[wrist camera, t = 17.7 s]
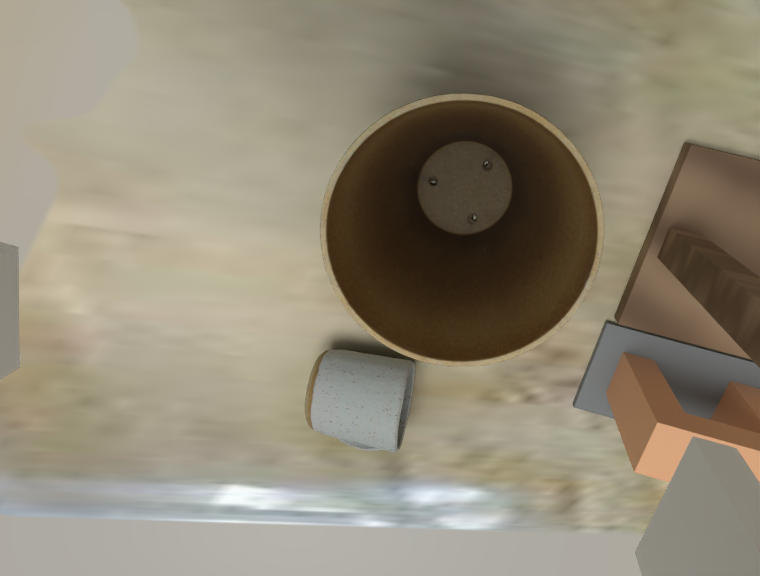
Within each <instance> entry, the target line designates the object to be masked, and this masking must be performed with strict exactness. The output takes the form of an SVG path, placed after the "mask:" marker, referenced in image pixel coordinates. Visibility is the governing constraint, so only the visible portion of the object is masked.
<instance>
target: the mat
mask: <svg viewBox="0 0 760 576" xmlns="http://www.w3.org/2000/svg"><path fill="white" fill-rule="evenodd" d="M623 352H626V353H630V354H634V355H637V356H641V357H645V358H648V359H652V360H655V362H656V364H657V366H658V367H659V369H660V371H661V373H662V374H663V376H664V378H665V379H666V381H667V383H668V385H669V386H670V388H671V390H672V391H673V393H674V395H675V397H676V398H677V400H678V402H679V404H680V405H681V407H682V409H683V410H684V412H685V413H687V414H691V415H695V416H698V417H702V418H705V419H709V420H711V418H712V416H713V414H714V412H715V410H716V408H717V406H718V404H719V402H720V400H721V398H722V396H723V394H724V392H725V390H726V388H727V386H728V384H729V382H730V381H733V382H737V383H740V384H744V385H748V386H751V387H755V388H759V389H760V368H759V367H758V366H757V365H756V364H755V363H754V362H753V360H751V359H747V358H744V357H740V356H736V355H732V354H729V353H725V352H721V351H717V350H714V349H710V348H706V347H703V346H699V345H695V344H691V343H688V342H684V341H680V340H676V339H673V338H669V337H665V336H661V335H658V334H654V333H650V332H646V331H643V330H639V329H635V328H632V327H628V326H624V325H620V324H617V323H613V322H610V321H606V322H605V324H604V327H603V329H602V332H601V334H600V337H599V339H598V342H597V344H596V347H595V349H594V352H593V354H592V357H591V359H590V362H589V364H588V367H587V369H586V372H585V375H584V377H583V380H582V382H581V385H580V387H579V390H578V392H577V395H576V397H575V400H574V402H573V406H574V407H575V408H578V409H582V410H586V411H589V412H593V413H596V414H600V415H603V416H607V417H610V418H614V415H613V412H612V410H611V407H610V404H609V401H608V399H607V396H606V391H607V389H608V387H609V384H610V382H611V380H612V377H613V375H614V372H615V370H616V368H617V365H618V363H619V360H620V358H621V356H622V353H623ZM614 419H615V418H614Z"/></svg>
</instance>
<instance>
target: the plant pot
mask: <svg viewBox="0 0 760 576" xmlns="http://www.w3.org/2000/svg"><path fill="white" fill-rule="evenodd" d="M487 161H488V162H489V164H488V165H487V166H483V165H484V163H485V162H487ZM430 181H435V182H436V185H433V184H431V183H430ZM473 215H475V216H476V218H477V219H476V221H474V220H473V219H472V217H473ZM320 239H321V249H322V255H323V260H324V264H325V268H326V271H327V274H328V277H329V280H330V282H331V284H332V287H333V289H334V291H335V292H336V294H337V296H338V298H339V299H340V301H341V302H342V304H343V305H344V307H345V309H346V310H347V311H348V312H349V314H350V315H351V316H352V317H353V319H354V320H355V321H356V322H357V323H358V324H359V325H360V326H361V327H362V328H363V329H364V330H365V331H367V332H368V333H369V334H370V335H371V336H373V337H374V338H375V339H377V340H378V341H380V342H381V343H382V344H384V345H385V346H387V347H389V348H390V349H392V350H394V351H396V352H398V353H400V354H402V355H405V356H407V357H410V358H413V359H416V360H419V361H423V362H427V363H431V364H437V365H443V366H452V367H469V366H481V365H487V364H493V363H497V362H501V361H504V360H507V359H510V358H513V357H516V356H518V355H520V354H523V353H525V352H527V351H529V350H531V349H532V348H534V347H536V346H538V345H539V344H541V343H543V342H544V341H546V340H547V339H548V338H550V337H551V336H553V335H554V334H555V333H556V332H557V331H558V330H559V329H561V328H562V327H563V326H564V325H565V324H566V323H567V322H568V321H569V319H570V318H571V317H572V316H573V315H574V313H575V312H576V311H577V309H578V308H579V306H580V305H581V304H582V302H583V301H584V299H585V297H586V296H587V294H588V292H589V290H590V288H591V286H592V284H593V281H594V279H595V276H596V274H597V271H598V267H599V263H600V259H601V256H602V250H603V241H604V218H603V209H602V204H601V198H600V194H599V191H598V188H597V185H596V182H595V179H594V177H593V175H592V173H591V171H590V169H589V167H588V165H587V163H586V162H585V160H584V158H583V157H582V155H581V154H580V152H579V151H578V150H577V148H576V147H575V146H574V144H573V143H572V142H571V141H570V140H569V139H568V138H567V137H566V136H565V135H564V134H563V133H562V132H561V131H560V130H559V129H558V128H557V127H555V126H554V125H553V124H552V123H551V122H549V121H548V120H546V119H545V118H543V117H542V116H540V115H539V114H537V113H536V112H534V111H532V110H530V109H528V108H526V107H524V106H522V105H519V104H517V103H514V102H512V101H508V100H505V99H502V98H498V97H494V96H489V95H481V94H468V93H458V94H446V95H438V96H433V97H428V98H424V99H421V100H417V101H414V102H412V103H409V104H407V105H404V106H402V107H400V108H398V109H396V110H394V111H392V112H390V113H388V114H387V115H385V116H384V117H382V118H381V119H379V120H378V121H377V122H375V123H374V124H372V125H371V126H370V127H369V128H368V129H367V130H365V131H364V132H363V133H362V134H361V135H360V136H359V137H358V138H357V139H356V140H355V141H354V143H353V144H352V145H351V146H350V147H349V149H348V150H347V151H346V153H345V154H344V156H343V157H342V159H341V160H340V162H339V163H338V165H337V167H336V169H335V171H334V173H333V175H332V177H331V179H330V182H329V184H328V187H327V190H326V193H325V197H324V201H323V206H322V212H321V222H320Z"/></svg>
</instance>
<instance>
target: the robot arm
mask: <svg viewBox="0 0 760 576" xmlns="http://www.w3.org/2000/svg"><path fill="white" fill-rule="evenodd" d="M18 368H20V349H19V262H18V247H16V246H13V245H9V244H6V243H2V242H0V379H2V378H4V377H5V376H7V375H8V374H10V373H12V372H13V371H15V370H17V369H18ZM635 554H636V557H637V560H638V563H639V567H640V570H641V573H642V576H760V483H759V481H758V480H757V478H756V477H755V475H754V474H753V472H752V471H751V469H750V467H749V466H748V464H747V463H746V461H745V460H744V458H743V457H742V455H741V454H740V452H739V451H738V449H737V448H734V447H730V446H727V445H723V444H720V443H716V442H712V441H709V440H705V439H702V438H698V437H695V436H693V437H692V439H691V441H690V443H689V445H688V447H687V449H686V451H685V453H684V455H683V457H682V459H681V461H680V463H679V465H678V467H677V469H676V471H675V473H674V475H673V477H672V479H671V481H670V483H669V485H668V487H667V489H666V491H665V493H664V495H663V497H662V499H661V501H660V503H659V505H658V507H657V509H656V511H655V513H654V515H653V517H652V519H651V521H650V523H649V525H648V527H647V529H646V531H645V533H644V535H643V537H642V539H641V541H640V543H639V545H638V547H637V549H636V551H635Z"/></svg>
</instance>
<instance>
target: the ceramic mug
mask: <svg viewBox="0 0 760 576" xmlns="http://www.w3.org/2000/svg"><path fill="white" fill-rule="evenodd" d="M414 378H415V363H414V362H413V361H411V360H404V359H398V358H391V357H385V356H379V355H372V354H365V353H359V352H355V351H349V350H327V351H325V352H324V353H322V354H321V355H320V356H319V357H318V359H317V360H316V362H315V364H314V367H313V369H312V372H311V375H310V378H309V382H308V386H307V392H306V399H305V416H306V421H307V423H308V425H309V426H310V427H311V428H312V429H314V430H316V431H317V432H320V433H322V434H325V435H328V436H332V437H335V438H337V439H338V440H340V441H342V442H343V443H345V444H347V445H349V446H352V447H355V448H358V449H362V450H370V451H376V450H381V449H382V450H386V451H390V452H397V451H398V450H399V449H400V446H401V444H402V440H403V437H404V432H405V428H406V424H407V419H408V414H409V410H410V404H411V397H412V392H413V386H414Z"/></svg>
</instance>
